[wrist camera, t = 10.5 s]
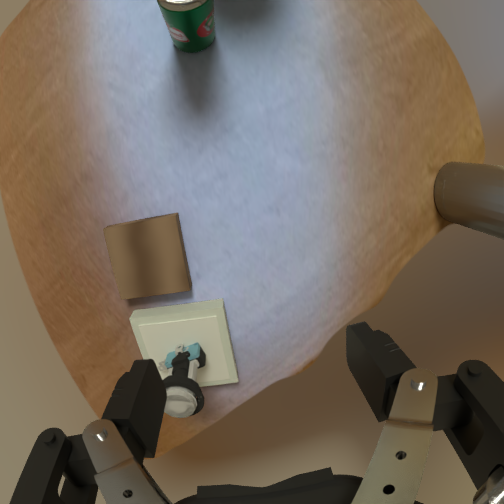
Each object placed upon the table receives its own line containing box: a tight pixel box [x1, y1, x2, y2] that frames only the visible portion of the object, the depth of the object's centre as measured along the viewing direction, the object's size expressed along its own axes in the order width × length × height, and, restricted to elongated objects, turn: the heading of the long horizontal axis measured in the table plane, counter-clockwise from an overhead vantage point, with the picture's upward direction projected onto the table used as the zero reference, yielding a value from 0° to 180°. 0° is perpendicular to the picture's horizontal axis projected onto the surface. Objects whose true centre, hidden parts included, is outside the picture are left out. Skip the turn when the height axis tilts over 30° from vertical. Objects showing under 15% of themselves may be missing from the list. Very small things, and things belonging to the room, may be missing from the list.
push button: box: [157, 342, 206, 418], centre depth 31 cm, size 7×5×10 cm
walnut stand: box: [103, 213, 192, 300], centre depth 34 cm, size 9×9×2 cm
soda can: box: [157, 0, 215, 53], centre depth 22 cm, size 5×5×12 cm
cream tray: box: [130, 298, 238, 387], centre depth 37 cm, size 12×12×3 cm
